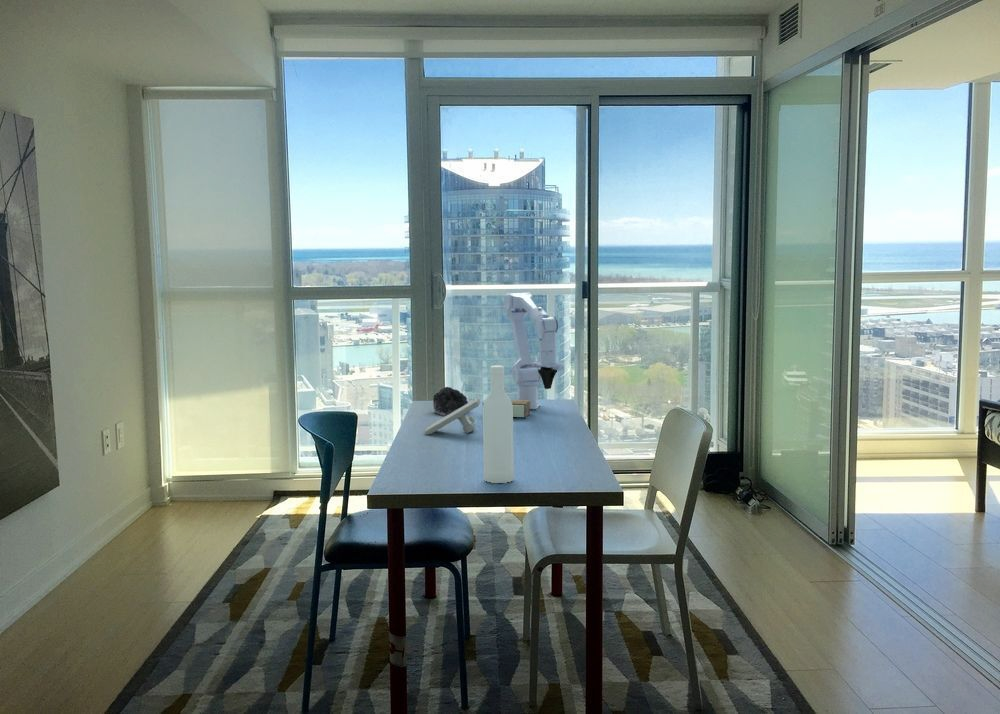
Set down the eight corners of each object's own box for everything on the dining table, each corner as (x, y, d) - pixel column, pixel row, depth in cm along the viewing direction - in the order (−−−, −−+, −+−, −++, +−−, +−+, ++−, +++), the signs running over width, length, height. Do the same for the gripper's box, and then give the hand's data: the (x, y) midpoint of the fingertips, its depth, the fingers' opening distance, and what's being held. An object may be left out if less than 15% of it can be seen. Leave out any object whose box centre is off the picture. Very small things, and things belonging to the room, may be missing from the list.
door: (484, 415, 295) (484, 404, 294) (526, 417, 291) (526, 405, 291) (483, 416, 293) (483, 405, 292) (525, 418, 289) (525, 406, 289)
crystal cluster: (467, 417, 298) (469, 390, 297) (430, 415, 298) (432, 387, 297) (469, 413, 311) (470, 387, 311) (433, 410, 311) (435, 384, 311)
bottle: (520, 480, 212) (518, 366, 209) (495, 486, 208) (493, 369, 204) (502, 474, 219) (500, 363, 215) (477, 479, 214) (475, 366, 211)
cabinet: (487, 412, 302) (486, 399, 301) (529, 414, 298) (529, 400, 298) (482, 416, 295) (482, 402, 294) (526, 417, 292) (526, 403, 291)
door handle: (437, 452, 269) (489, 422, 266) (424, 431, 268) (476, 401, 265) (443, 438, 286) (492, 410, 283) (431, 419, 285) (480, 390, 282)
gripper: (525, 350, 295) (525, 387, 296) (554, 353, 284) (554, 392, 286) (539, 348, 299) (539, 385, 301) (568, 351, 288) (568, 389, 290)
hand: (547, 388), depth 294 cm, fingers closed
